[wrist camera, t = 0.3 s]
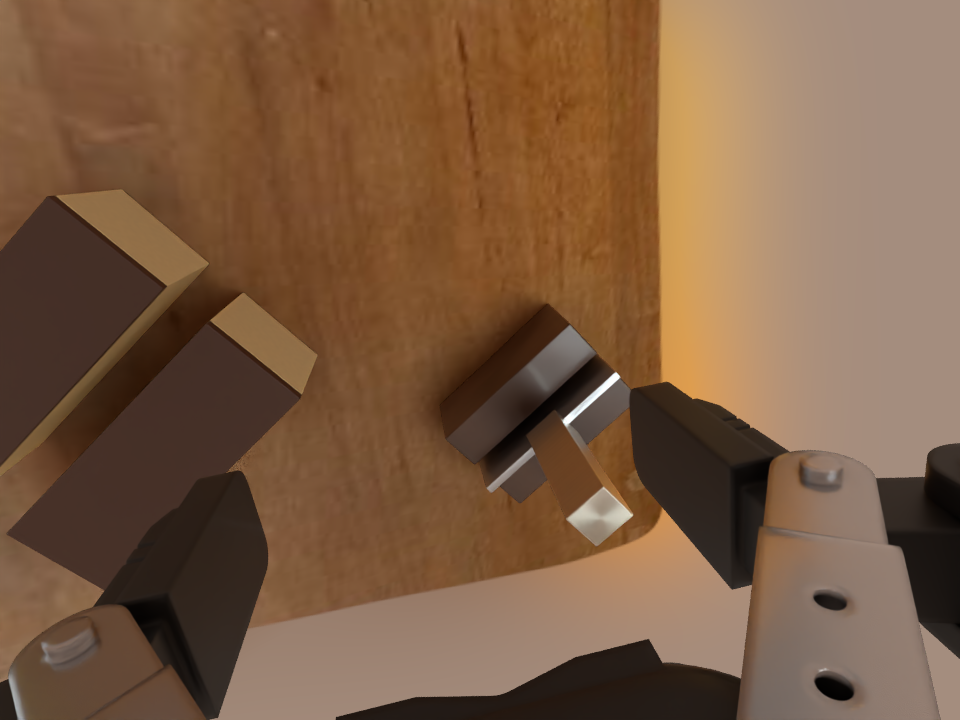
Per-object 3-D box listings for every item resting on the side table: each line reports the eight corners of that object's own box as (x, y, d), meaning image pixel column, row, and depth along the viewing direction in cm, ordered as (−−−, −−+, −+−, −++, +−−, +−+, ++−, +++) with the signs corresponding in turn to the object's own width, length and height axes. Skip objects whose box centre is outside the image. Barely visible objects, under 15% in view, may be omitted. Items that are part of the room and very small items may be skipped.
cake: (121, 188, 31) (47, 195, 24) (318, 355, 35) (300, 398, 29) (-51, 384, 33) (-162, 439, 26) (156, 517, 38) (105, 591, 31)
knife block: (547, 302, 36) (569, 323, 32) (610, 370, 39) (639, 398, 34) (439, 405, 38) (445, 439, 33) (505, 464, 40) (520, 504, 35)
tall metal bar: (569, 326, 37) (674, 425, 23) (590, 348, 38) (703, 457, 24) (462, 426, 39) (500, 576, 25) (483, 445, 39) (532, 601, 25)
